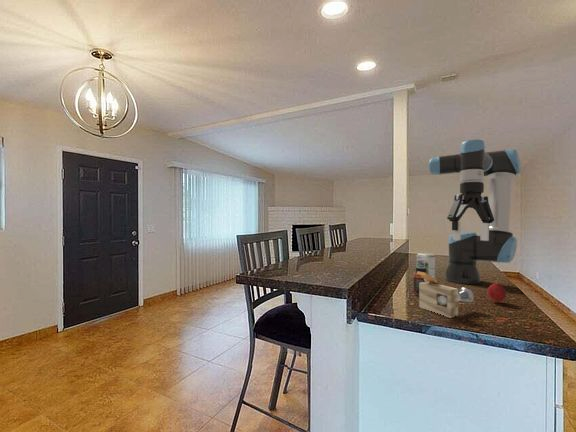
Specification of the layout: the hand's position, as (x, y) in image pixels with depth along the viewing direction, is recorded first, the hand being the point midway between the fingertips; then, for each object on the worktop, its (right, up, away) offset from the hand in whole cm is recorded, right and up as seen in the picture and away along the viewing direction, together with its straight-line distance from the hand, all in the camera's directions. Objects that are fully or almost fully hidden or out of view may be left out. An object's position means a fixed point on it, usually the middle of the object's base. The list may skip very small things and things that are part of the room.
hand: (470, 240), depth 111 cm
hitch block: (-15, -24, -6) cm, 29 cm away
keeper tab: (-18, -13, -4) cm, 23 cm away
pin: (-10, -22, -7) cm, 25 cm away
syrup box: (-3, -23, +30) cm, 38 cm away
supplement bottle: (-12, -24, +14) cm, 30 cm away
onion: (+11, -24, +2) cm, 26 cm away
